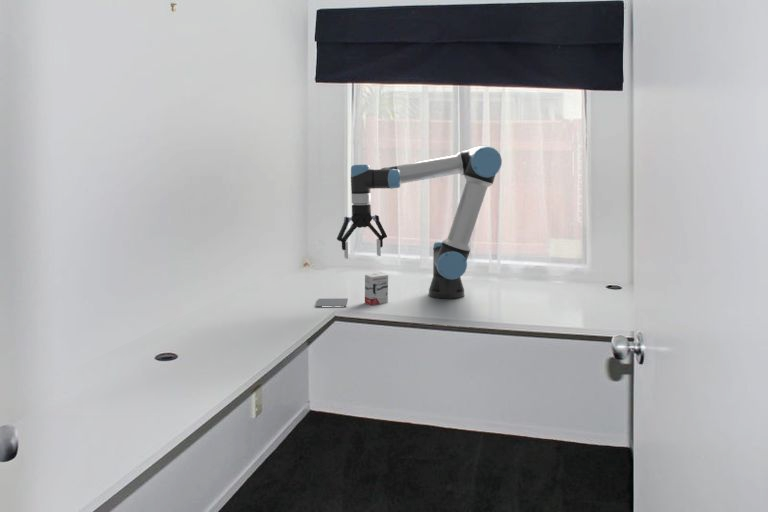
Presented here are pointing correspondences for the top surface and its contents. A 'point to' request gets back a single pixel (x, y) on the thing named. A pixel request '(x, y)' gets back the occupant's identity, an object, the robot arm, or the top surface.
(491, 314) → the top surface
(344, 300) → the slate coaster
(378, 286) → the ink box
